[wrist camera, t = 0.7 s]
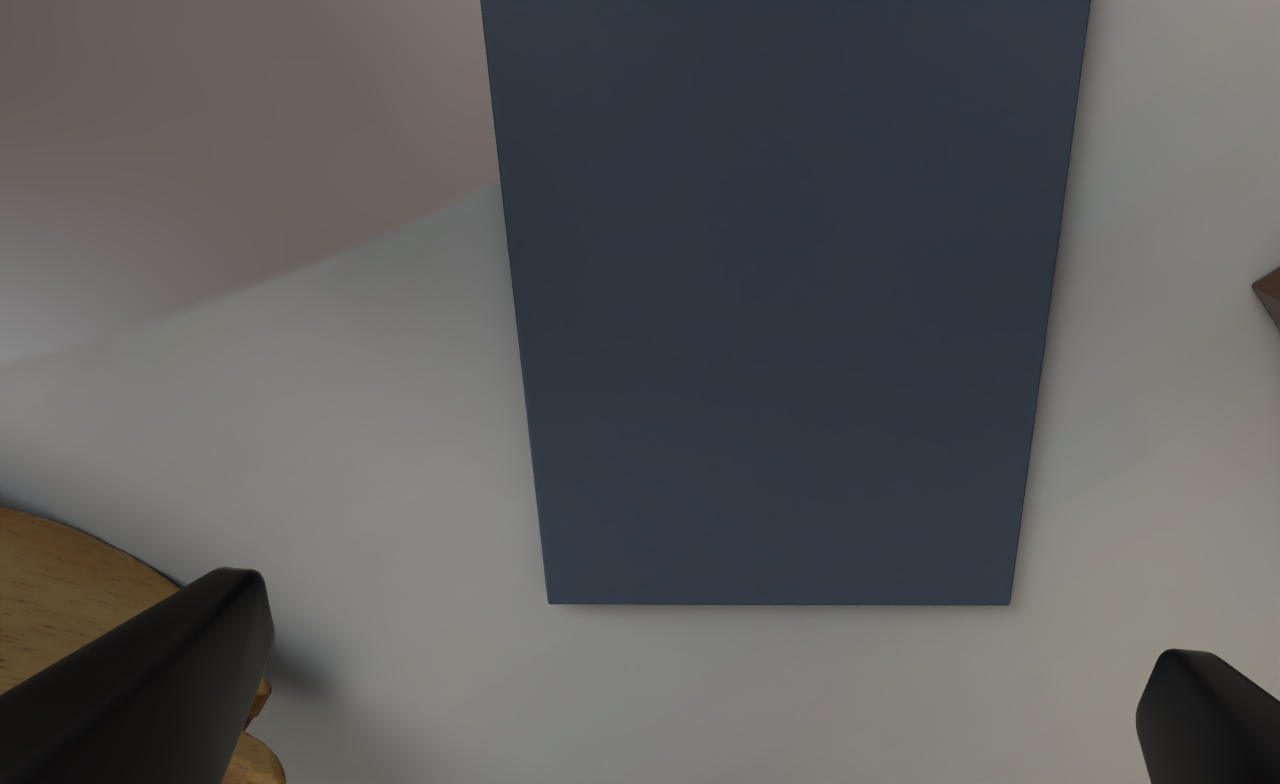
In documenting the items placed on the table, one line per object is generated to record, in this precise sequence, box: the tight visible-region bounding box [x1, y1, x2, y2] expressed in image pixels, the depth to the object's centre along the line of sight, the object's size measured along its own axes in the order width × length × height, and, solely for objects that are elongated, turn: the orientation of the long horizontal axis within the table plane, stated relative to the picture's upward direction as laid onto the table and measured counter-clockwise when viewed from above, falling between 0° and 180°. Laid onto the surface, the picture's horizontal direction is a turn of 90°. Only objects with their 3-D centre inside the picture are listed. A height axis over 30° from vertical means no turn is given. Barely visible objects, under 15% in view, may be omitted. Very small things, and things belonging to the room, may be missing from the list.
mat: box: [480, 0, 1091, 605], centre depth 22 cm, size 20×13×1 cm, turn 3°
